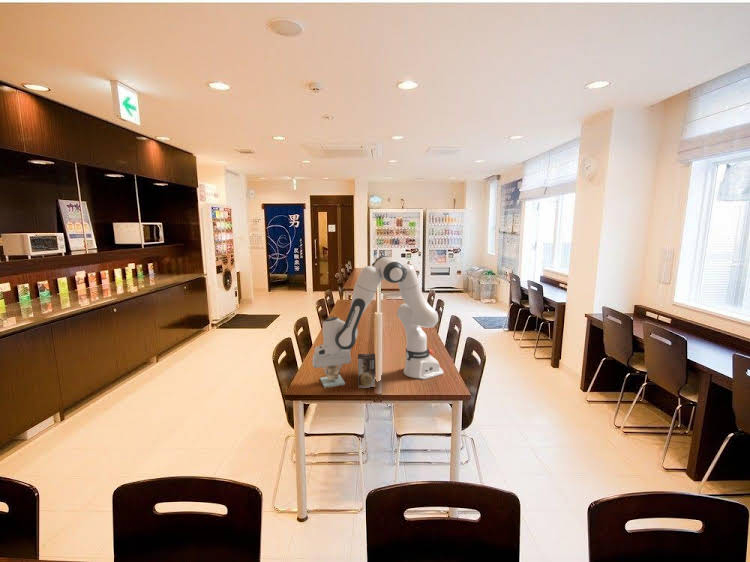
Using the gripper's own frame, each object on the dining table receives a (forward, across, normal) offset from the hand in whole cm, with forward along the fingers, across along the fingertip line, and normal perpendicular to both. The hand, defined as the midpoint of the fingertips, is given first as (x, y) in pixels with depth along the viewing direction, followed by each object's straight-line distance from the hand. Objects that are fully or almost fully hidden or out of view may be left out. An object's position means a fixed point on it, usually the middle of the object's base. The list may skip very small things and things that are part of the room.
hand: (332, 372), depth 186 cm
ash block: (+3, 0, 0) cm, 3 cm away
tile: (+5, 0, 0) cm, 5 cm away
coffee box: (+5, -16, +10) cm, 20 cm away
